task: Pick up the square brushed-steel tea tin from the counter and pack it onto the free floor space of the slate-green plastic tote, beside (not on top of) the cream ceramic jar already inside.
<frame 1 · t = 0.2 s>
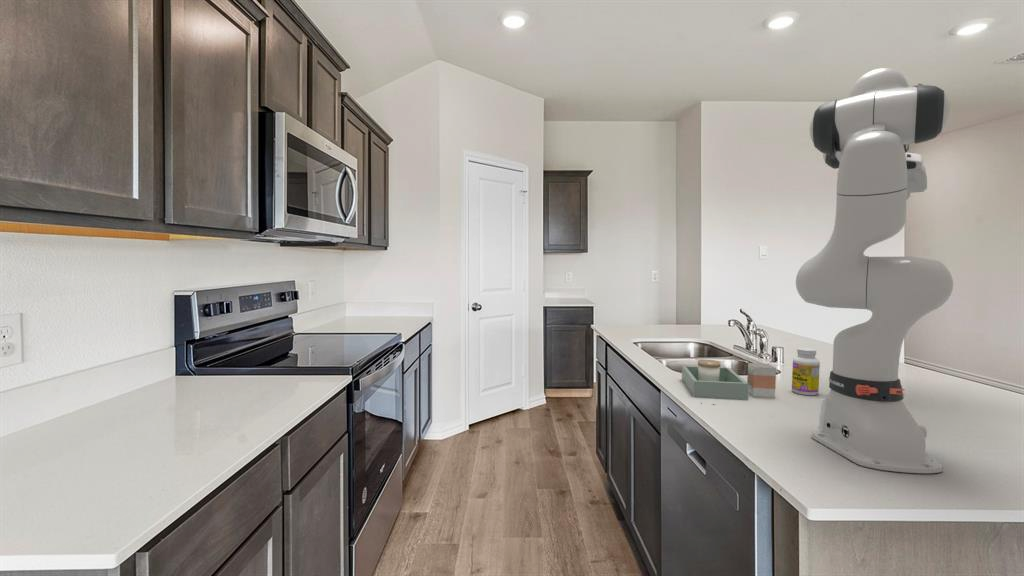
hand: (880, 207, 140), 54 cm above the worktop, tool tilted 30°, fingers open, 8 cm apart
tea tin: (760, 397, 133), on the worktop
tote: (712, 390, 140), on the worktop
supplement bottle: (804, 393, 138), on the worktop
ceramic jar: (708, 384, 145), point 1 cm above the worktop, touching tote
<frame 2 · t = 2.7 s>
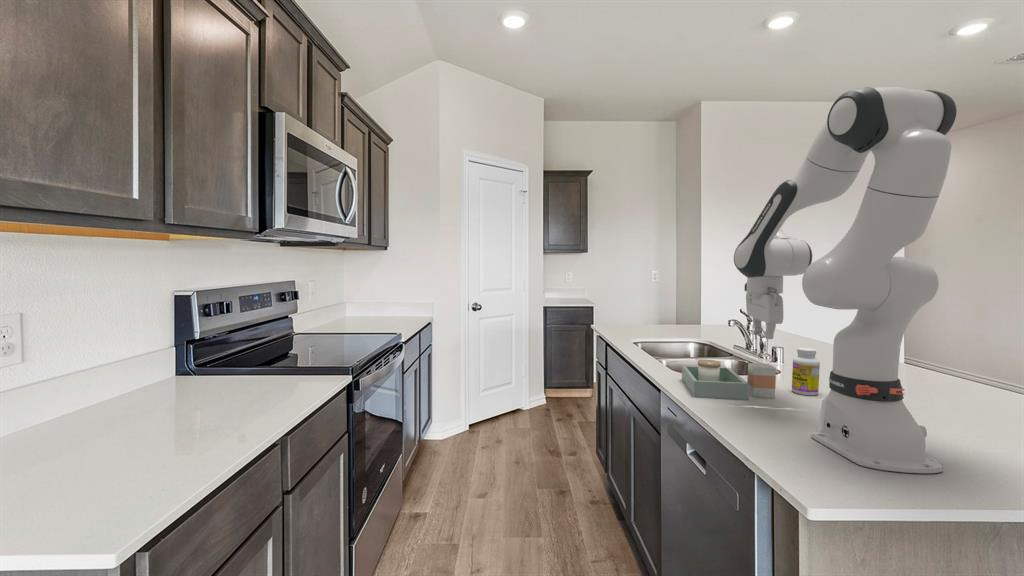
hand: (763, 336, 133), 17 cm above the worktop, tool pointing down, fingers open, 8 cm apart
nothing on the worktop moved.
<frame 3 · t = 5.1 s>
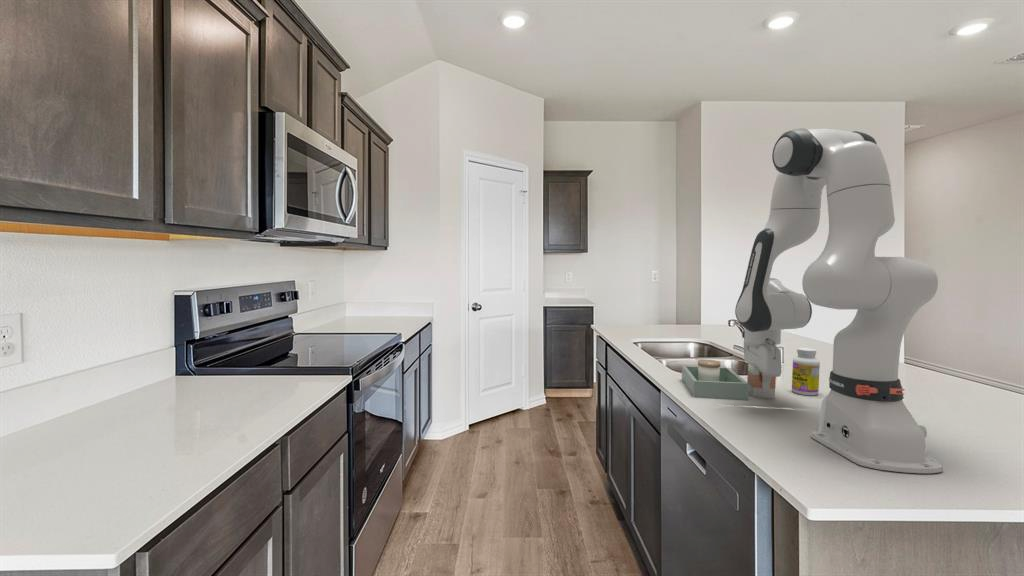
hand: (761, 385, 133), 3 cm above the worktop, tool pointing down, fingers closed on tea tin, 6 cm apart
tea tin: (760, 396, 133), on the worktop, touching gripper
everything else where it was.
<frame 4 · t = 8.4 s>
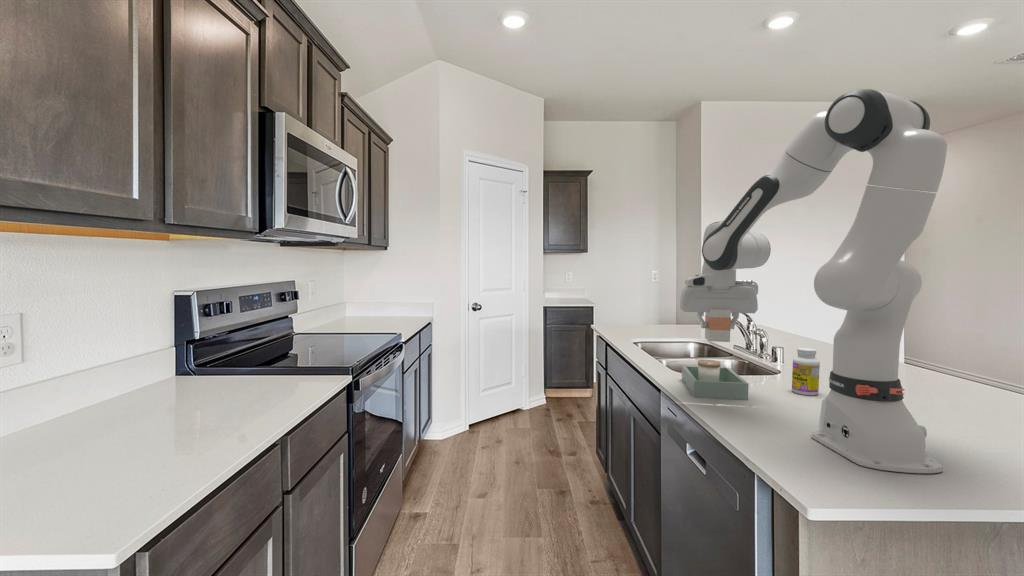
hand: (717, 328, 135), 19 cm above the worktop, tool pointing down, fingers closed on tea tin, 6 cm apart
tea tin: (717, 340, 135), point 16 cm above the worktop, touching gripper
everything else where it was.
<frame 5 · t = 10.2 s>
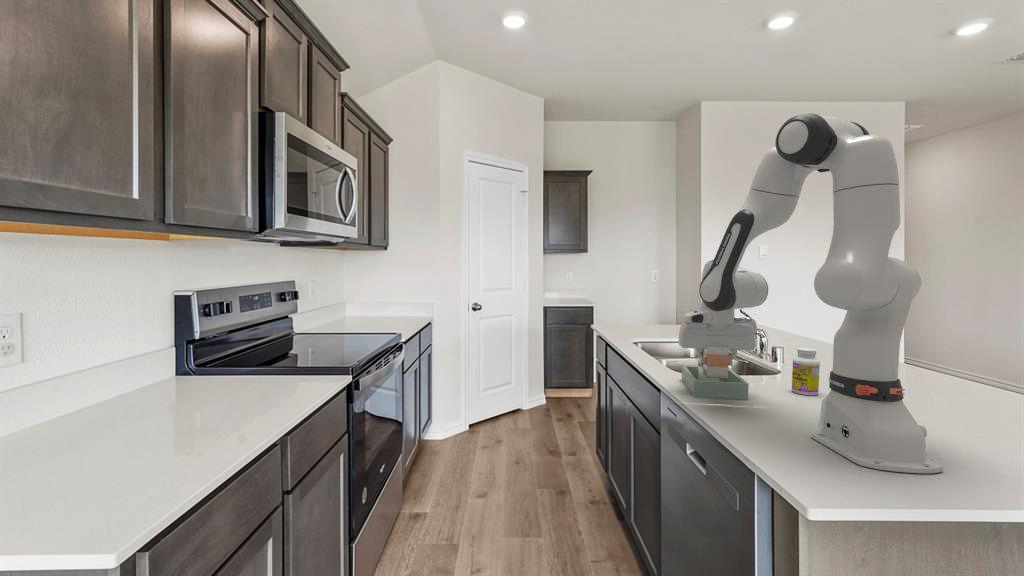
hand: (715, 364, 135), 9 cm above the worktop, tool pointing down, fingers closed on tea tin, 6 cm apart
tea tin: (715, 375, 136), point 5 cm above the worktop, touching gripper
everything else where it was.
when the fingers open (5 cm above the worktop, at t = 11.8 s): tea tin drops 1 cm, resting on tote.
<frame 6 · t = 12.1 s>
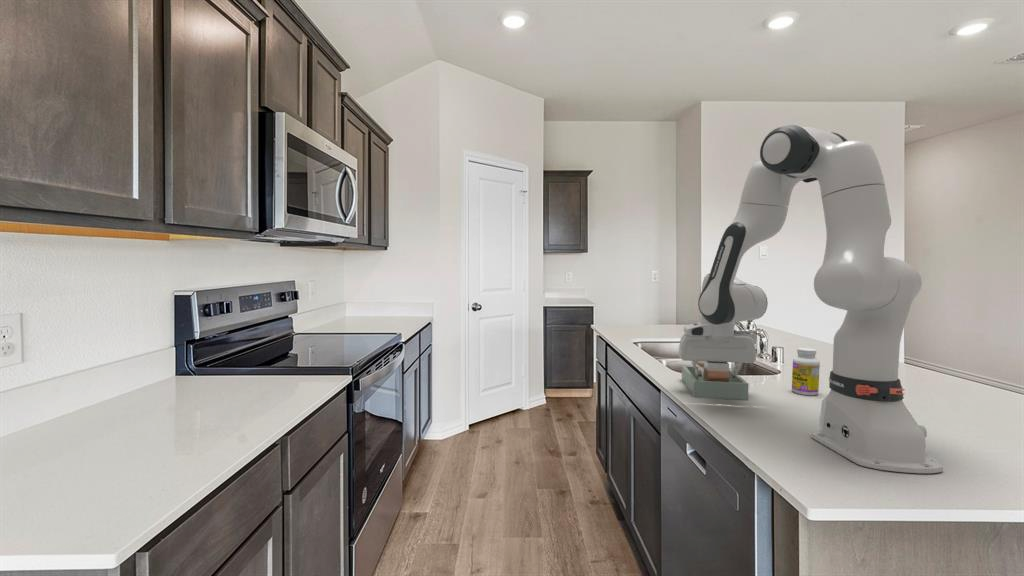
hand: (715, 377, 135), 5 cm above the worktop, tool pointing down, fingers open, 8 cm apart
tea tin: (715, 392, 136), point 1 cm above the worktop, touching tote
everything else where it was.
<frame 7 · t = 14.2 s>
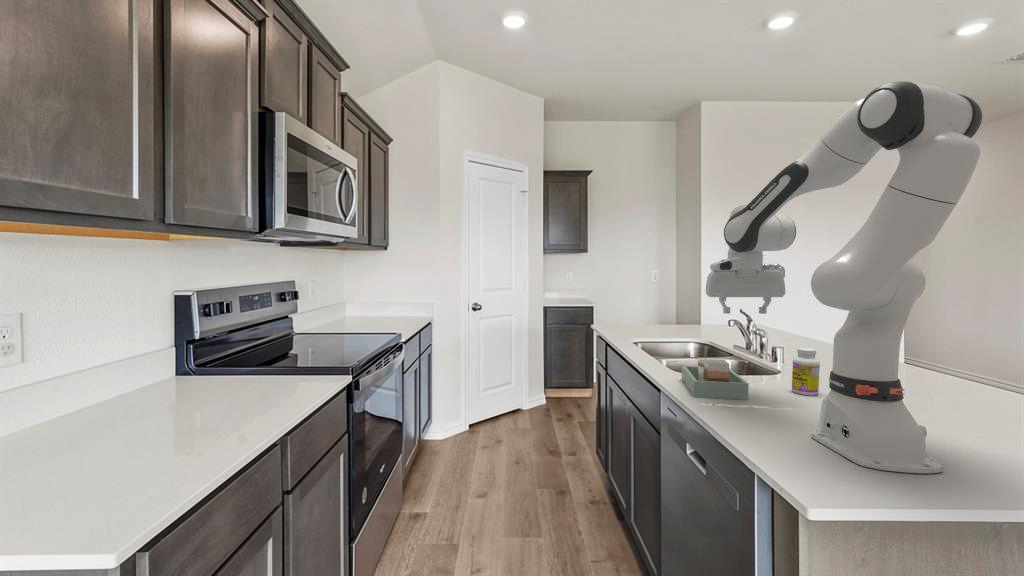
hand: (744, 313, 133), 23 cm above the worktop, tool pointing down, fingers open, 8 cm apart
nothing on the worktop moved.
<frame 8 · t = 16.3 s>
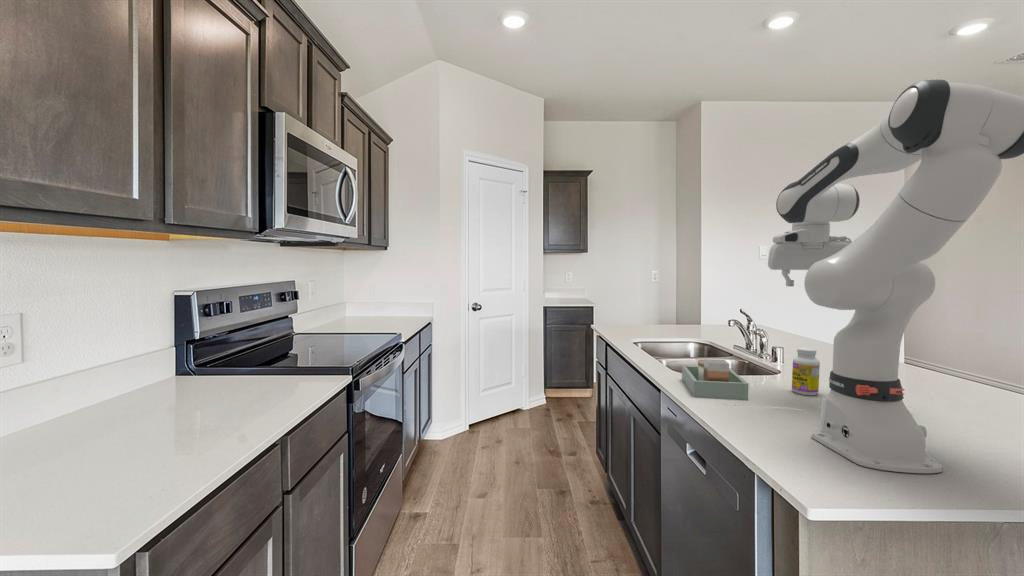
hand: (808, 286, 131), 31 cm above the worktop, tool pointing down, fingers open, 8 cm apart
nothing on the worktop moved.
at the end: tea tin inside the target area on the tote (0.1 cm from its centre), point 0.6 cm above the tote's base; tea tin tilted 0°; ceramic jar moved 0.1 cm from its start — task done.
